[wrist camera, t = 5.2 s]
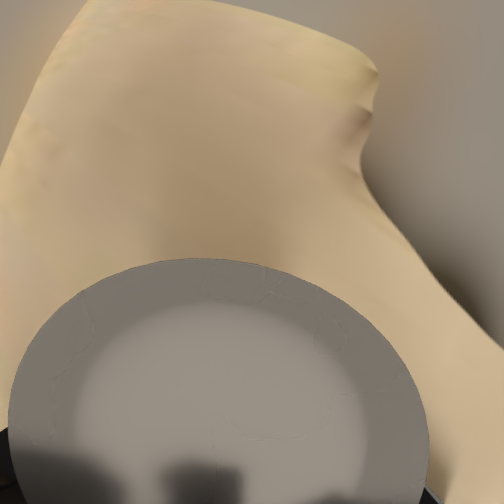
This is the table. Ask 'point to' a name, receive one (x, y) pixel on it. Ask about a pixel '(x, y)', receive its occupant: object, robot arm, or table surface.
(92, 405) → the steel can
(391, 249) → the table surface
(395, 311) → the table surface
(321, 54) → the table surface
